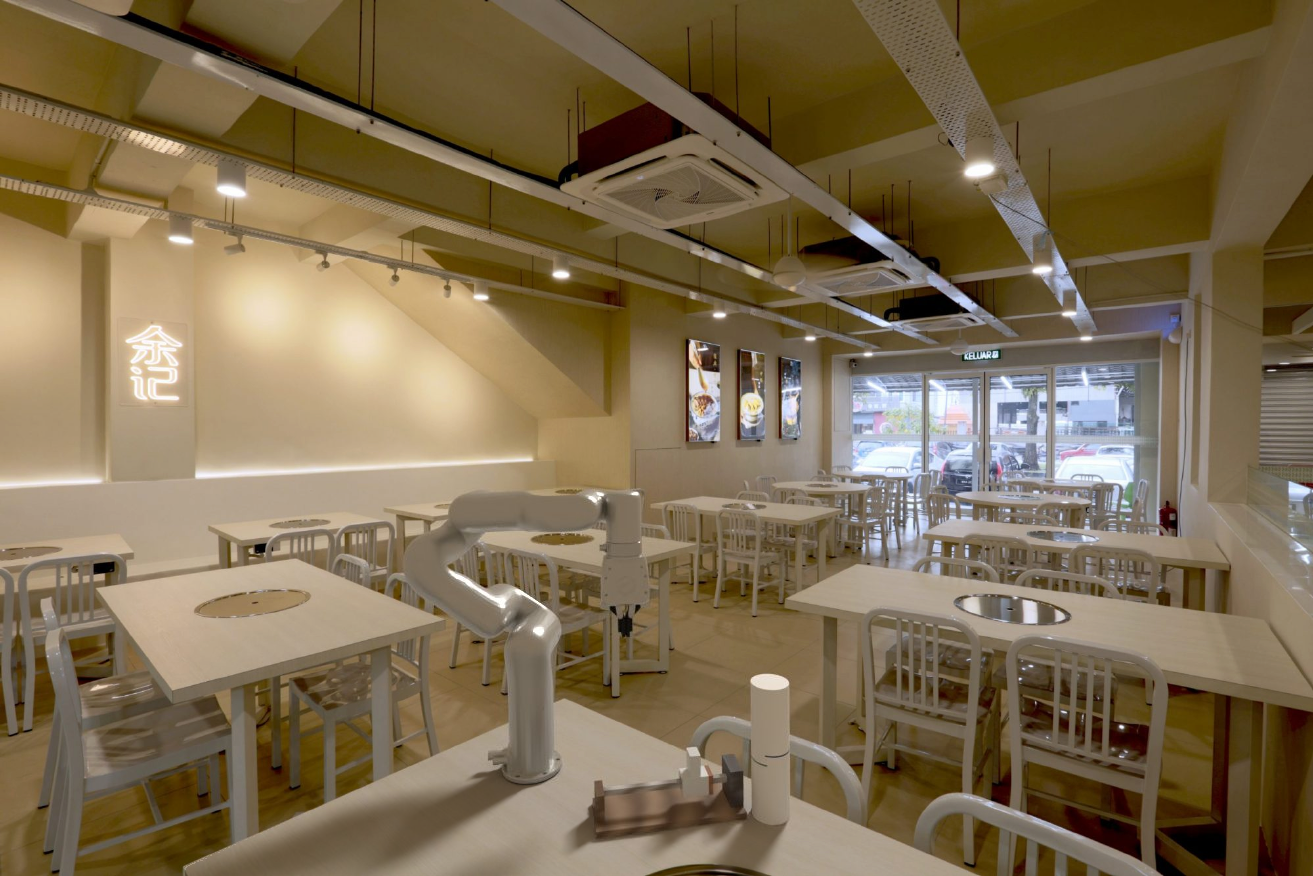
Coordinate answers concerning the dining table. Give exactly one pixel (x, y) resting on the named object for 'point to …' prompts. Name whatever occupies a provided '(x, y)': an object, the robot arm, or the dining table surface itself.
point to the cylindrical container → (770, 749)
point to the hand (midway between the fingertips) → (625, 635)
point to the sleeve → (694, 775)
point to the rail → (669, 803)
